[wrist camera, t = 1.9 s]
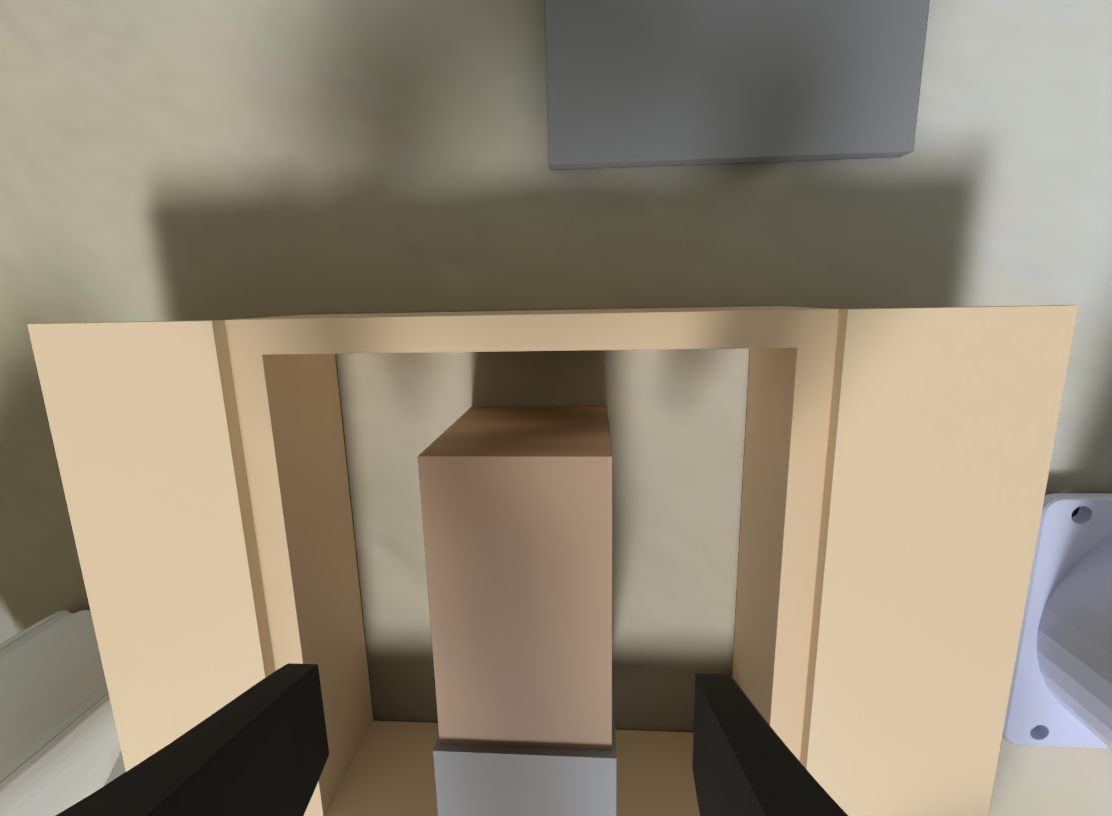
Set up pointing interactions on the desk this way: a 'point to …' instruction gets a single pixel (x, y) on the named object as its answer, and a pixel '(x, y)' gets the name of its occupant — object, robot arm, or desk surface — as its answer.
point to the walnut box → (522, 611)
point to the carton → (764, 548)
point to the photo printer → (54, 717)
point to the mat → (731, 80)
